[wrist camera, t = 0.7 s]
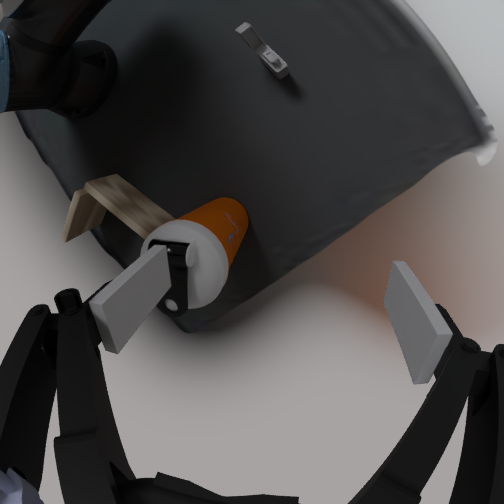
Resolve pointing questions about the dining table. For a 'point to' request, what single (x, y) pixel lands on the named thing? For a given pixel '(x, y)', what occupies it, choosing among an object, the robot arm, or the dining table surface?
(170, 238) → the shaker bottle
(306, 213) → the dining table surface
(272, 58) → the lighter
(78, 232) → the bookend
